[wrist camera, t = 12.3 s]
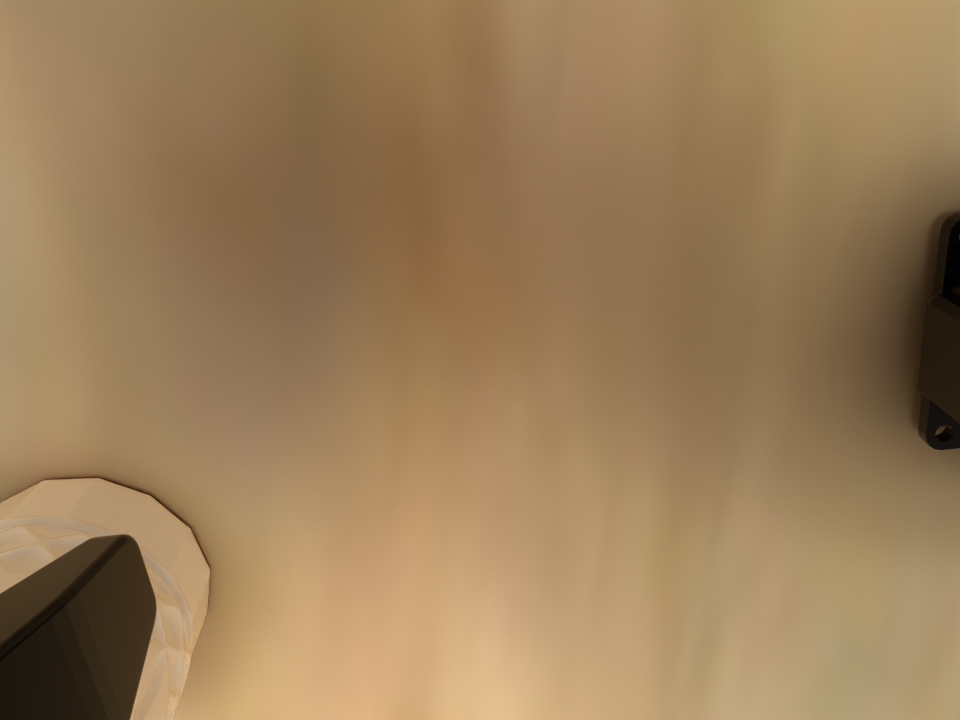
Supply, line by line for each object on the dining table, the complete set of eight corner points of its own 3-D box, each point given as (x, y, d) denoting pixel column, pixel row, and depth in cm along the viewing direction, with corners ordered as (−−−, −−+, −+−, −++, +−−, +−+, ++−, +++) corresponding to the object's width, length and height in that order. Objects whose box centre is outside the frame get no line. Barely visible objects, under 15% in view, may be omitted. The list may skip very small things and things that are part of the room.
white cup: (31, 405, 22) (-271, 681, 13) (282, 546, 24) (172, 873, 15) (-82, 596, 25) (-405, 944, 15) (154, 711, 27) (-7, 1080, 17)
